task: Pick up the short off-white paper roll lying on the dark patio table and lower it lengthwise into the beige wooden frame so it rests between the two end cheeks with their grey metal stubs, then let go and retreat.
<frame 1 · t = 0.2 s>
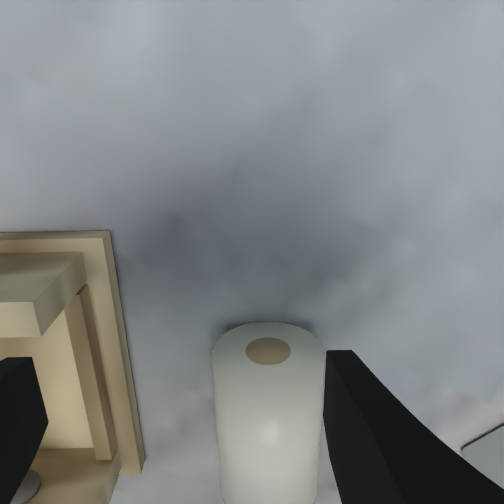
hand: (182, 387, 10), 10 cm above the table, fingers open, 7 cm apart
roll: (265, 385, 23), on the table
beige wooden frame: (32, 360, 22), on the table
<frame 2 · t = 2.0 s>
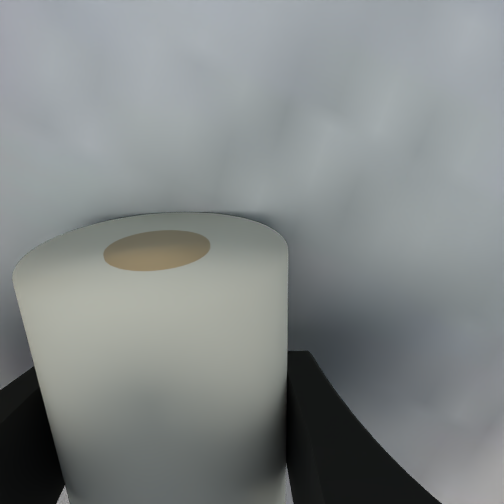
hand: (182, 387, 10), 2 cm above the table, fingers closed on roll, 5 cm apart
roll: (191, 348, 12), on the table, touching gripper
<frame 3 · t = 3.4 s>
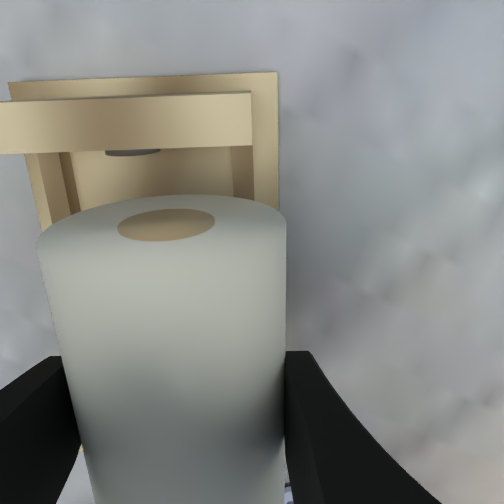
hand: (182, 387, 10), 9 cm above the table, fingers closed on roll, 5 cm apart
roll: (207, 324, 13), point 7 cm above the table, tilted 9°, touching gripper
beige wooden frame: (167, 244, 19), on the table
when the fingers open (4 cm above the table, at t = 5.1 s): roll stays where it is, resting on beige wooden frame.
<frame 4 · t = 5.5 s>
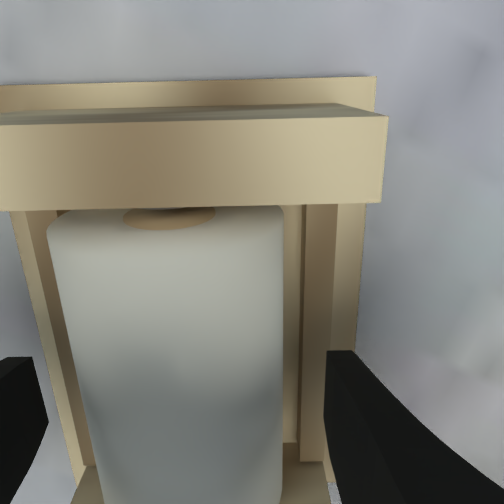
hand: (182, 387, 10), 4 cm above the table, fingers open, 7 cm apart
roll: (208, 315, 13), point 1 cm above the table, tilted 9°, touching beige wooden frame
beige wooden frame: (200, 306, 14), on the table
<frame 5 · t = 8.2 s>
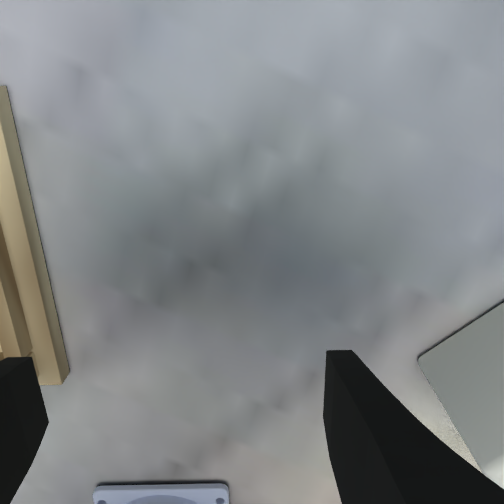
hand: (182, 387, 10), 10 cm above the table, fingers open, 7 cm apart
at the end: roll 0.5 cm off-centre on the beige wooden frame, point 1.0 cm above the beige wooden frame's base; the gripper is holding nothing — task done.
